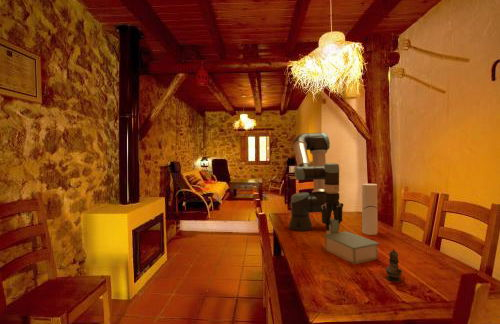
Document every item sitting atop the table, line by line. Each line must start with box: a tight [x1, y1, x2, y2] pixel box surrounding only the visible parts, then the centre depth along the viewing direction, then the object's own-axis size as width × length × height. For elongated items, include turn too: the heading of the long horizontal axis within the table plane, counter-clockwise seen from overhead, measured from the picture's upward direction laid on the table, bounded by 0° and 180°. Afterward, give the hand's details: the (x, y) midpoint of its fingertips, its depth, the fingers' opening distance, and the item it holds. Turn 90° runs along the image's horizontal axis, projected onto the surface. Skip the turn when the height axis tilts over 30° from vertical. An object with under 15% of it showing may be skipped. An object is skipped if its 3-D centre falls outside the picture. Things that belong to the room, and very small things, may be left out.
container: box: [361, 183, 379, 236], centre depth 166 cm, size 9×9×30 cm
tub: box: [324, 237, 378, 265], centre depth 132 cm, size 20×14×7 cm
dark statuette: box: [385, 248, 403, 283], centre depth 106 cm, size 6×6×12 cm
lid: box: [323, 217, 380, 250], centre depth 134 cm, size 26×15×9 cm, turn 22°
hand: (332, 235), depth 144 cm, fingers closed on lid, 4 cm apart
